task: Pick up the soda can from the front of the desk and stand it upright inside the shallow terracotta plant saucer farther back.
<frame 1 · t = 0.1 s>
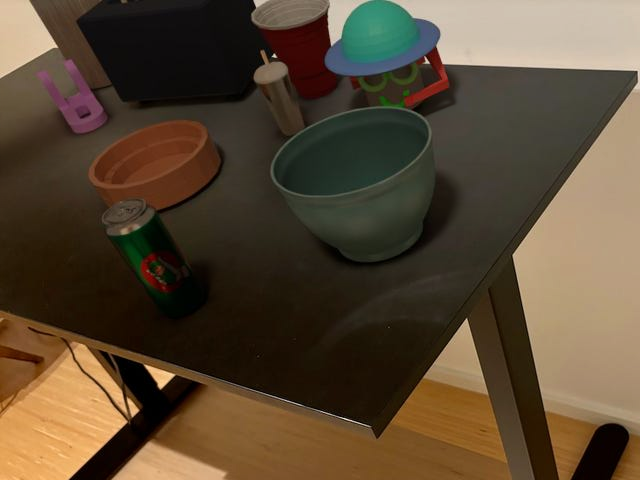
milkshake: (293, 129, 100), on the table
soda can: (185, 305, 77), on the table
plastic cup: (320, 90, 107), on the table
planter: (110, 76, 126), on the table
toy robot: (401, 111, 97), on the table
terracotta plant saucer: (165, 182, 96), on the table
speaker: (204, 88, 115), on the table
flower pot: (382, 237, 79), on the table
bracket: (86, 117, 116), on the table
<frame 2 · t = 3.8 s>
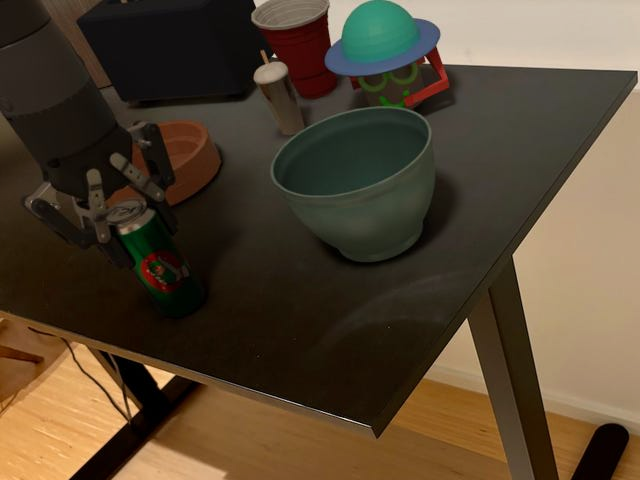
hand: (148, 249, 71), 7 cm above the table, tool pointing down, fingers closed on soda can, 5 cm apart
soda can: (185, 305, 77), on the table, touching gripper
everything else where it was.
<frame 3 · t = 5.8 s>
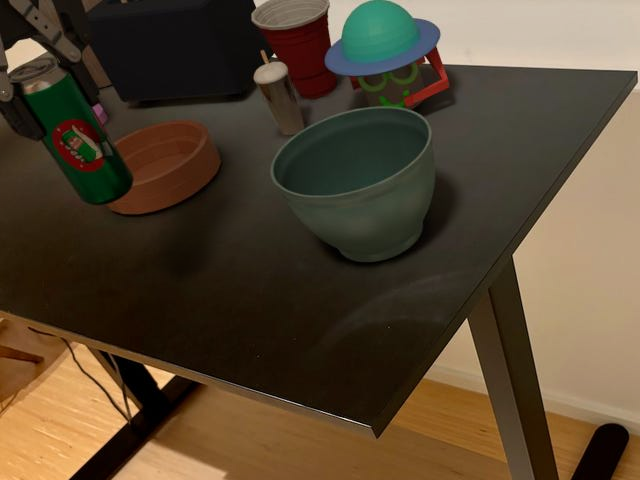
hand: (63, 120, 62), 21 cm above the table, tool pointing down, fingers closed on soda can, 5 cm apart
soda can: (111, 194, 68), point 13 cm above the table, touching gripper
everything else where it was.
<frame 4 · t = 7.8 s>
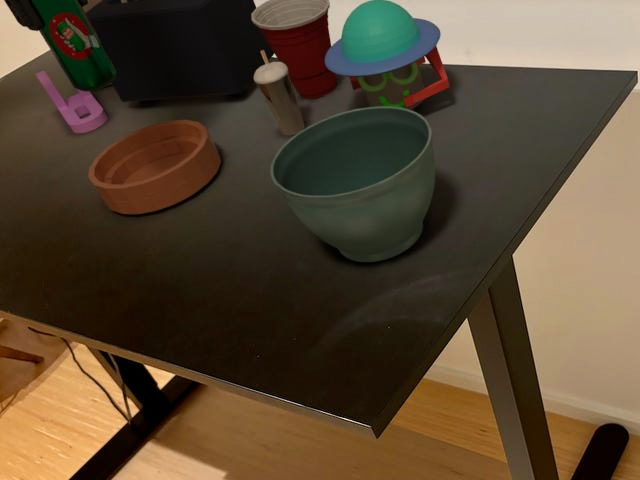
hand: (58, 16, 77), 23 cm above the table, tool pointing down, fingers closed on soda can, 5 cm apart
soda can: (99, 84, 82), point 15 cm above the table, touching gripper
everything else where it was.
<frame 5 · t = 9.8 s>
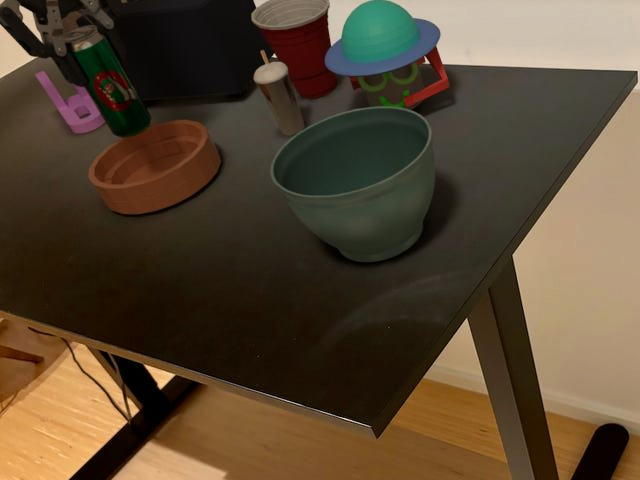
hand: (100, 72, 85), 15 cm above the table, tool pointing down, fingers closed on soda can, 5 cm apart
soda can: (135, 130, 91), point 8 cm above the table, touching gripper
everything else where it was.
when the fingers open (8 cm above the table, at t = 11.9 s): soda can stays where it is, resting on terracotta plant saucer.
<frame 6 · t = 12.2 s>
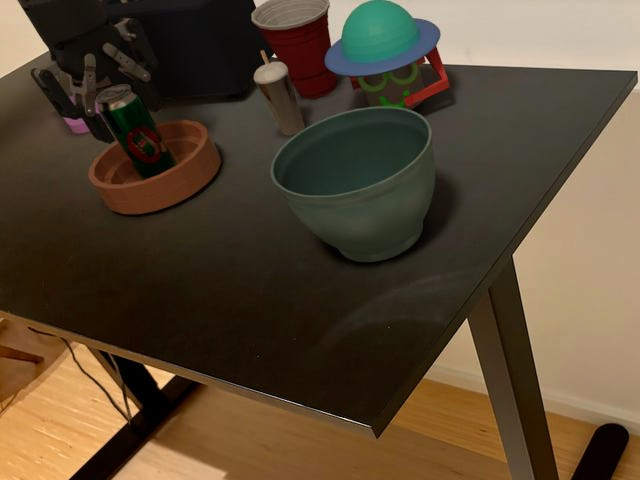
hand: (132, 125, 90), 8 cm above the table, tool pointing down, fingers open, 7 cm apart
soda can: (163, 179, 96), resting on terracotta plant saucer
everything else where it was.
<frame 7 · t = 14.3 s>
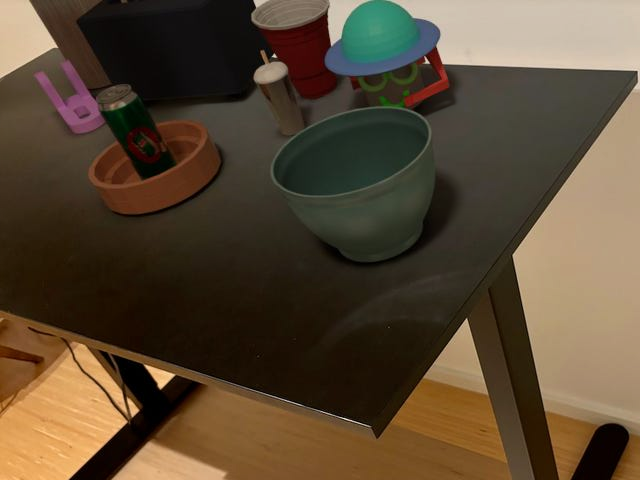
nothing on the table moved.
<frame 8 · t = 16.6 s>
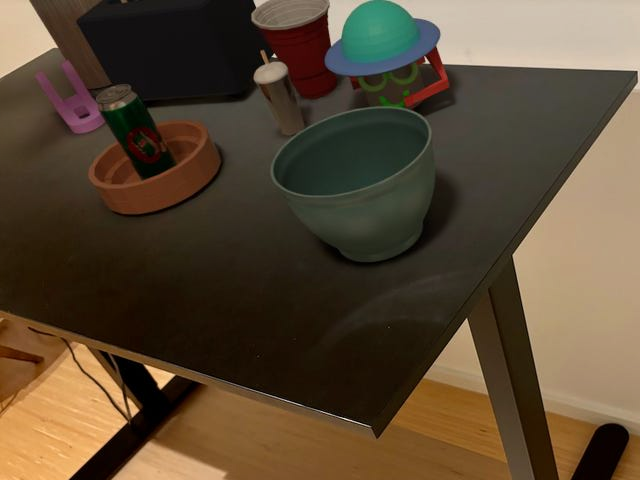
nothing on the table moved.
at the end: soda can inside the target area in the terracotta plant saucer (0.0 cm from its centre), point 0.4 cm above the terracotta plant saucer's base; soda can tilted 0°; the gripper is holding nothing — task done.
